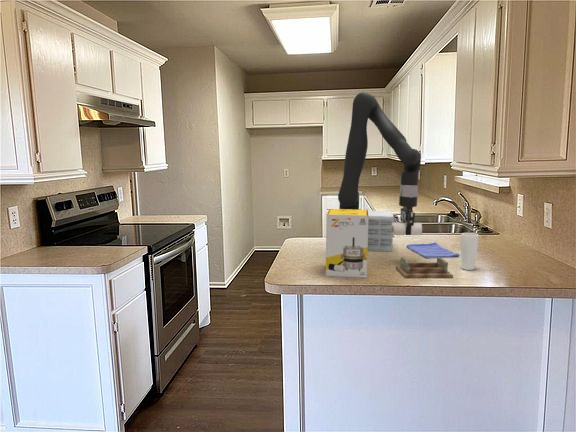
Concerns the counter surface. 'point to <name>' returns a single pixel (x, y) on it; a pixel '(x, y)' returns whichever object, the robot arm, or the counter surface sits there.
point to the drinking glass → (469, 250)
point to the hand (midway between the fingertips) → (406, 233)
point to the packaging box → (346, 243)
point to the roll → (401, 229)
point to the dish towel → (432, 251)
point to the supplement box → (380, 231)
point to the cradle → (424, 269)
